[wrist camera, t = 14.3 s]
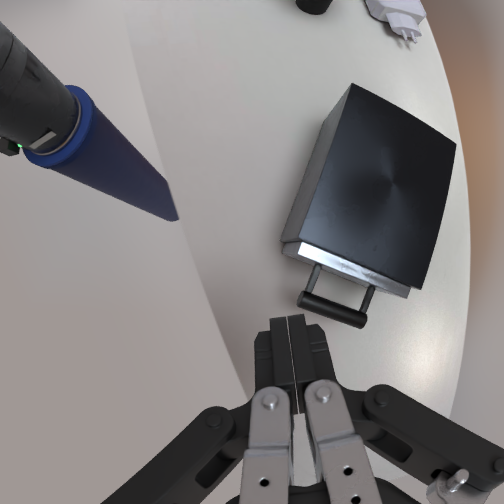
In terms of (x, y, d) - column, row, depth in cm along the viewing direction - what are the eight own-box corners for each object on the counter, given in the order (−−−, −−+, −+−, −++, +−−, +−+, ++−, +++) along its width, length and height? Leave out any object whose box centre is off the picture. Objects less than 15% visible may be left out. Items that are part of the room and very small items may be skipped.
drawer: (357, 323, 35) (390, 341, 27) (267, 289, 34) (277, 302, 26) (406, 177, 35) (444, 162, 27) (324, 136, 35) (348, 108, 26)
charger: (379, 44, 36) (355, -17, 36) (427, 55, 37) (400, -6, 36) (391, 27, 31) (363, -33, 31) (441, 41, 32) (411, -21, 32)
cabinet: (375, 280, 36) (421, 290, 26) (279, 241, 35) (297, 237, 25) (410, 165, 36) (456, 143, 26) (323, 121, 36) (351, 82, 25)
